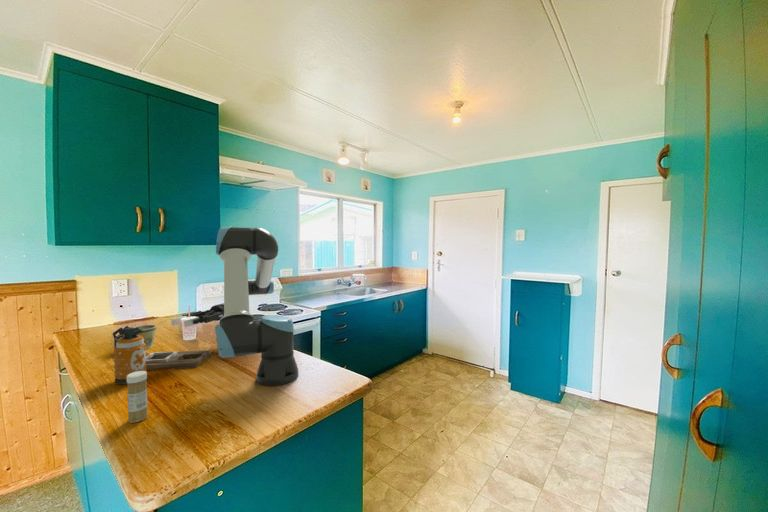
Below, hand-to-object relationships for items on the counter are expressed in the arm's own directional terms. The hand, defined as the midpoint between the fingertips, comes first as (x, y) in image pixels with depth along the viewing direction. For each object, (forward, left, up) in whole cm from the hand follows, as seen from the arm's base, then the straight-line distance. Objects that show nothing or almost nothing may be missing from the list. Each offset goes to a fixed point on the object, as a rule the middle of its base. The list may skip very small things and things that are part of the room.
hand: (178, 323), depth 127 cm
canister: (-12, +12, -18) cm, 25 cm away
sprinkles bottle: (-41, -7, -18) cm, 45 cm away
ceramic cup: (+28, +28, -18) cm, 43 cm away
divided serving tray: (+5, +4, -18) cm, 19 cm away
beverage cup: (+5, -2, -8) cm, 10 cm away
